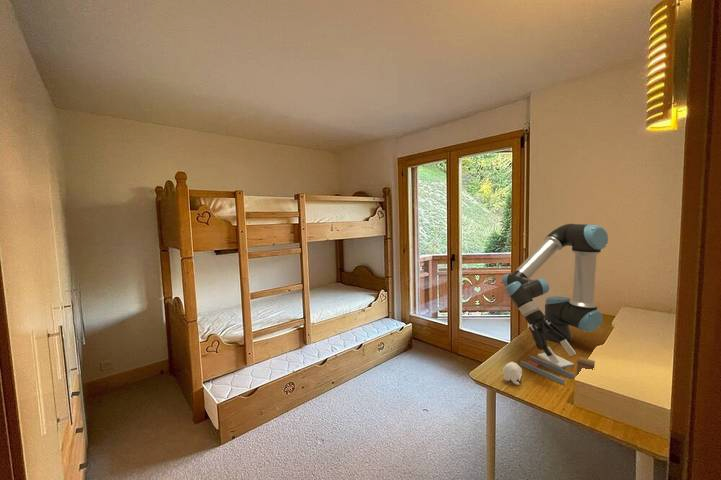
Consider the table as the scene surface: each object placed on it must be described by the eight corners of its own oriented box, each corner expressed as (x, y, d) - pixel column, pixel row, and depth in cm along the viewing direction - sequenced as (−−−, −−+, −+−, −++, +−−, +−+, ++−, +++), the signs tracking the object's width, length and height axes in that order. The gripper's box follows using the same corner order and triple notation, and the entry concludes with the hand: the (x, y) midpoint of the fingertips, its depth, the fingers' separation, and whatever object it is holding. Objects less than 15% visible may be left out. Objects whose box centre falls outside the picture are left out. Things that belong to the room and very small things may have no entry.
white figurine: (502, 362, 123) (511, 354, 132) (500, 381, 123) (510, 373, 132) (518, 367, 119) (527, 359, 127) (517, 388, 119) (525, 378, 127)
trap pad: (530, 361, 140) (530, 360, 140) (539, 365, 137) (539, 364, 136) (523, 364, 137) (523, 363, 137) (532, 368, 134) (532, 367, 134)
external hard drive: (561, 370, 134) (537, 356, 145) (574, 367, 136) (549, 354, 148) (561, 366, 133) (537, 353, 145) (574, 363, 136) (550, 351, 148)
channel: (531, 359, 142) (531, 355, 141) (573, 378, 126) (574, 373, 126) (520, 365, 137) (520, 361, 136) (562, 384, 121) (563, 380, 121)
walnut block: (577, 381, 124) (579, 356, 123) (592, 386, 120) (594, 361, 119) (575, 386, 120) (577, 361, 119) (590, 391, 117) (593, 365, 116)
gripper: (540, 312, 143) (572, 354, 132) (509, 322, 130) (541, 370, 119) (553, 304, 138) (587, 348, 127) (522, 314, 125) (557, 363, 114)
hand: (565, 359), depth 123 cm, fingers open, 13 cm apart
